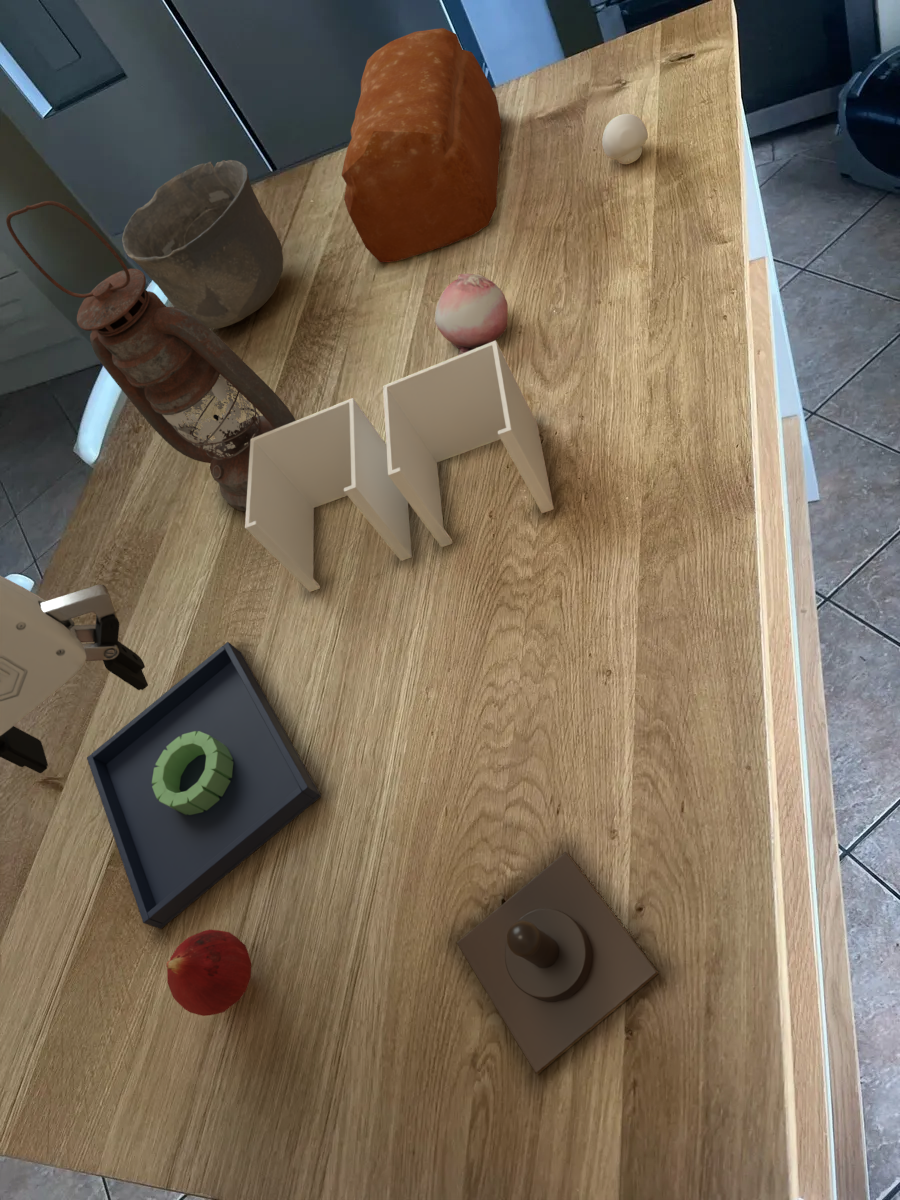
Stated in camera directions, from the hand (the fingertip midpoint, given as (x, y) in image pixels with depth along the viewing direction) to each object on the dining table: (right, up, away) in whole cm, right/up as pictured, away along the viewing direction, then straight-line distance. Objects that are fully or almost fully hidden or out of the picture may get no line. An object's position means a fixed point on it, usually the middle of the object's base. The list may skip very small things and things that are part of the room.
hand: (91, 717), depth 69 cm
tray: (+5, -7, +12) cm, 15 cm away
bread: (+26, +61, +46) cm, 80 cm away
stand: (+34, -15, -8) cm, 39 cm away
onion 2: (+31, +37, +27) cm, 55 cm away
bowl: (+2, +48, +50) cm, 70 cm away
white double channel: (+25, +18, +18) cm, 36 cm away
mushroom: (+48, +59, +33) cm, 83 cm away
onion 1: (+11, -20, 0) cm, 23 cm away
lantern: (+7, +23, +31) cm, 39 cm away
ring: (+5, -7, +12) cm, 14 cm away
